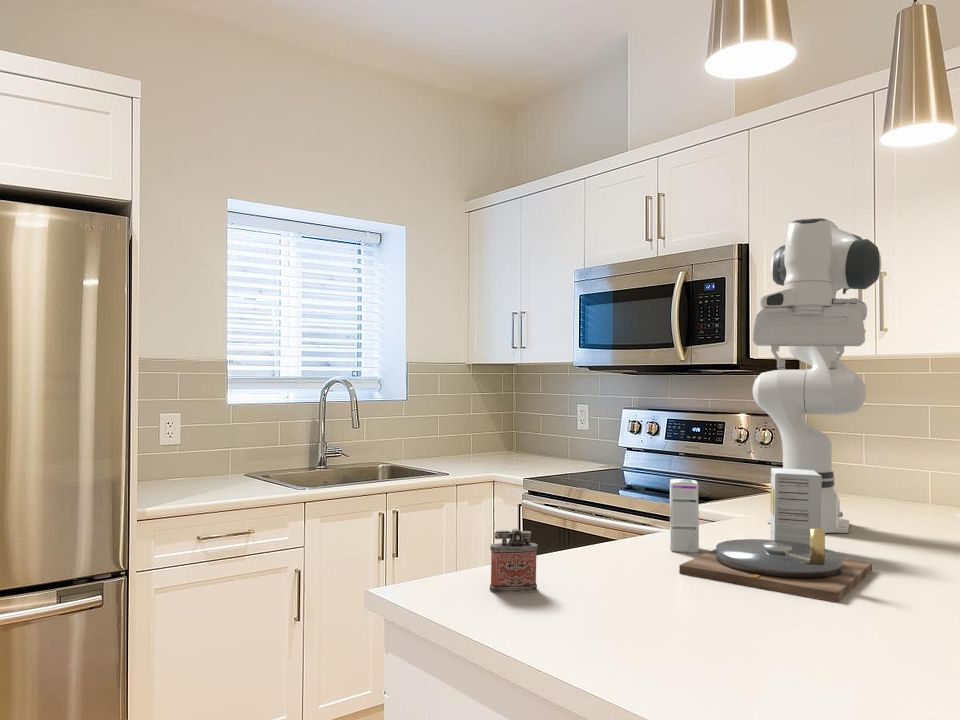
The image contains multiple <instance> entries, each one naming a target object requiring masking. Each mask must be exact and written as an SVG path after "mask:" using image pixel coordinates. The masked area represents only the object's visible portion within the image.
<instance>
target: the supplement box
mask: <svg viewBox="0 0 960 720" xmlns="http://www.w3.org/2000/svg"><path fill="white" fill-rule="evenodd" d="M782 468H783V467H782ZM782 468H781V467H780V468H778V467H777V468H776V467H774V468H773V467H771V468H770V518H771V520H770V523H769V526H770V529H769V533H770V537H769V540H778V541H788V542H795V543H802V544H807V545H810V528H821V494H822V476H821V475H819V474H818V473H817V472H816V471H815V470H801V469H782Z"/></svg>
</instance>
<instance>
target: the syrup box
mask: <svg viewBox="0 0 960 720" xmlns="http://www.w3.org/2000/svg"><path fill="white" fill-rule="evenodd" d="M669 480H670V481H669V547H670V550H671V552H675V551H676V553H677V552H678V553H687V552H688V553H689V554H690V553H691V554H699V549H700V548H699V547H700V546H699V545H700V544H699V543H700V542H699V540H700V536H699V535H700V532H699V530H700V529H699V527H700V524H699V523H700V522H699V521H700V519H699V518H700V517H699V515H700V514H699V483H698V482H697V480H695V479H687V478H677V479H676V478H675V479H669ZM688 553H687V554H688Z"/></svg>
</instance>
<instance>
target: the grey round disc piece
mask: <svg viewBox="0 0 960 720" xmlns="http://www.w3.org/2000/svg"><path fill="white" fill-rule="evenodd" d="M715 549H716V559H717V560H718V561H719V562H721V563H722V564H725V565H727V566H729V567H732V568H736V569H739V570H743V571H748V572H752V573H758V574H764V575H771V576H780V577H793V578H819V577H828V576H834V575H837V574H839V573H841V572H842V559H844V558H843V556H842V555H840V554H839V553H837V552H835V551H833V550H831V549H828V548H826V533H825V529H821V528H810V545H807V544H802V543H795V542H788V541H778V540H770V539H763V538H762V539H761V538H758V539H757V538H755V539H754V538H747V539H746V538H745V539H744V538H743V539H731V540H725V541H721V542H719V543H717V544H716V546H715Z"/></svg>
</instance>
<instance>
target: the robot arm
mask: <svg viewBox="0 0 960 720" xmlns="http://www.w3.org/2000/svg"><path fill="white" fill-rule="evenodd" d="M769 264H770V265H769V269H770V275H771V277H772V281H773V282H774V283H775V284H776V285H778V286H783V290H779V291H777V292H776V291H775V292H773V293H770V294H767V295H764V296H761V298H760V300H759V305H760V308H761V309H760V310H758V311H757V313H756V314H755V316H754V317H755V318H754V323H753V330H752V342H753V344H754V345H755V346H757V347H771V348H770V349H771V350H770V351H771V353H772V355H773V356H774V358H775V359H776V368H777V369H773V370H769V371H765V372H761V373H760V374H758V376H757V377H756V378H755V380H754V382H753V384H752V385H753V386H752V396H753V400H754V402H755V404H756V405H757V406H758V408H760V409H761V411H763V412H765V414H767V415H768V416H769V417H770V418H771V419H772V421H773V422H774V423H775V425H776V427H777V429H778V431H779V434H780V438H781V449H782V469H801V470H815V471H816V472H817V473H818V474H819V475H821V476H822V494H821V529H825V534H826V533H827V534H828V533H829V534H830V533H831V534H832V533H833V534H834V533H837V534H838V533H840V534H848V533H849V532H850V525H851V524H850V520H849V519H846V518H842V517H843V516H844V514H843V512H842V511H841V506H840V505H841V501H840V497H839V495H838V494H837V491H836V489H835V488H834V486H835V473H834V470H832V469H833V467H832V463H833V462H832V459H833V458H832V455H833V454H832V453H833V452H832V451H833V448H832V447H833V444H832V441H831V439H830V437H829V436H828V435H827V434H826V433H824V432H823V431H821V430H819V429H817V428H815V427H813V426H812V425H810V424H808V423H807V421H806V417H805V415H830V416H837V415H838V416H840V415H845V414H851V413H852V414H853V413H857V412H858V411H859V410H860V409H861V408H862V407H863V405H864V403H865V401H866V398H867V388H866V384H865V382H864V380H863V379H862V377H861V376H859V374H857V372H854V371H853V370H851V369H850V368H849V367H848V366H846V364H845V363H844V362H843V361H842V360H841V358H842V356H843V354H844V353H845V347H861V346H862V345H863V344H864V343H865V341H866V333H865V332H866V331H865V323H864V321H865V320H866V319H867V317H868V307H867V303H866V302H864V301H862V300H859V298H856V297H855V298H854V297H852V298H837V292H838V291H839V290H842V295H846V293H847V292H846V291H848V290H850V289H851V290H867V289H868V288H869V287H871V286H873V285H874V284H875V283H876V282H877V281H878V280H879V278H880V277H879V276H880V274H881V271H882V255H881V252H880V250H879V247H878V246H877V245H876V244H875V242H873V241H872V240H870V239H868V238H866V239H863V238H862V237H861V236H860V235H857V234H853V233H850V232H848V231H845V230H843V229H839V227H838V226H837V225H836V224H835V223H834V222H833V221H831V220H830V219H827V218H824V217H813V218H803V219H796V220H793V221H792V222H790V223H789V224H788V226H787V232H786V237H785V244H783V245H780V247H778V248H777V249H776V250H775V251H774V253H773V255H772V257H771V259H770V262H769ZM780 347H787V348H788V350H789V353H790V355H791V356H793V357H794V358H796V359H797V360H798V361H800V362H801V363H803V364H807V365H809V366H810V367H811V368H810V369H809V368H808V369H786V365H785V364H786V359H781V358H780V356H779V354H778V352H780ZM766 520H767V521H766V523H767V524H770V520H771V517H768V518H767V519H766Z"/></svg>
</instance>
